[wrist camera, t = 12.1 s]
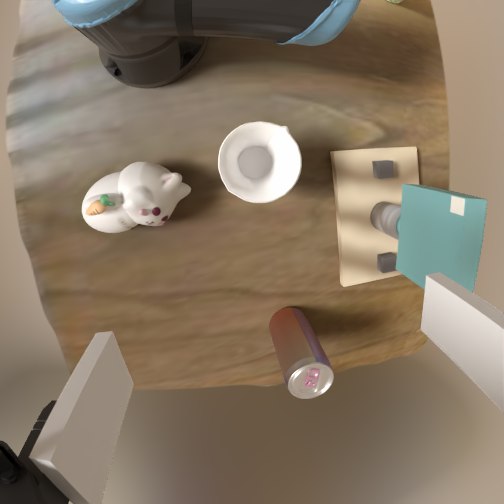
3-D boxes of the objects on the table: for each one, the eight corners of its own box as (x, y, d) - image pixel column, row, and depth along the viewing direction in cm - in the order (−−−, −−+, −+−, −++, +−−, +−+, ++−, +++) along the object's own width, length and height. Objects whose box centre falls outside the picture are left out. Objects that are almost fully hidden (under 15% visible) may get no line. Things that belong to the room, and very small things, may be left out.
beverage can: (309, 306, 49) (341, 362, 34) (301, 339, 50) (327, 399, 36) (271, 303, 48) (292, 361, 34) (265, 337, 49) (282, 400, 35)
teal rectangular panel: (390, 266, 39) (449, 308, 27) (396, 182, 36) (465, 198, 24) (410, 264, 40) (470, 303, 27) (417, 183, 37) (487, 199, 24)
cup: (298, 155, 42) (321, 155, 32) (255, 207, 43) (266, 221, 34) (248, 114, 40) (257, 101, 30) (204, 166, 41) (200, 169, 32)
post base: (329, 151, 42) (350, 151, 35) (411, 146, 43) (439, 147, 36) (340, 283, 48) (358, 303, 41) (414, 267, 49) (439, 283, 42)
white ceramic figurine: (61, 232, 32) (174, 195, 31) (63, 173, 34) (167, 132, 33) (103, 249, 42) (201, 223, 40) (101, 198, 44) (193, 169, 42)
